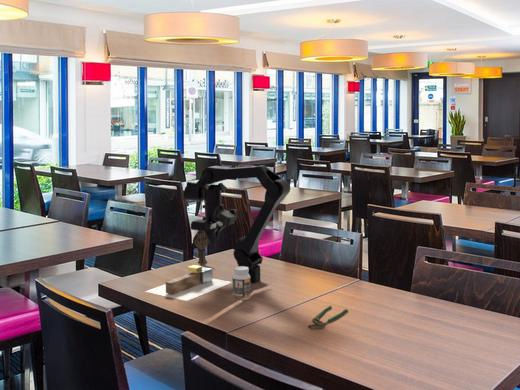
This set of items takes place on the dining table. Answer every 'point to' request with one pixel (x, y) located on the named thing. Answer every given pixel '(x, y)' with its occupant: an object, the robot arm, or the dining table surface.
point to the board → (190, 290)
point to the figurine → (201, 245)
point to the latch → (195, 269)
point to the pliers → (321, 324)
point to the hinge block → (205, 275)
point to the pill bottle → (241, 283)
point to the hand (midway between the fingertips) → (213, 245)
